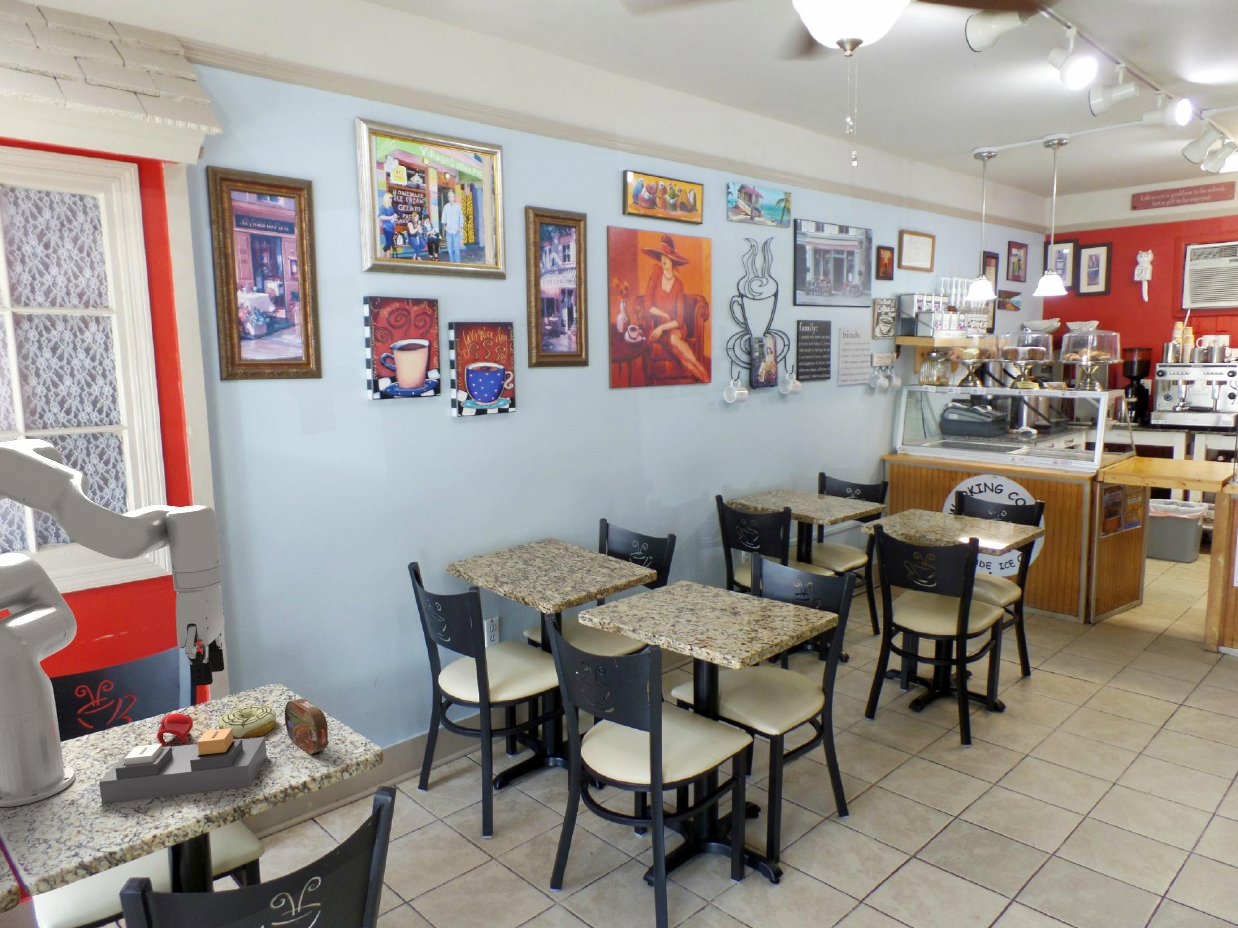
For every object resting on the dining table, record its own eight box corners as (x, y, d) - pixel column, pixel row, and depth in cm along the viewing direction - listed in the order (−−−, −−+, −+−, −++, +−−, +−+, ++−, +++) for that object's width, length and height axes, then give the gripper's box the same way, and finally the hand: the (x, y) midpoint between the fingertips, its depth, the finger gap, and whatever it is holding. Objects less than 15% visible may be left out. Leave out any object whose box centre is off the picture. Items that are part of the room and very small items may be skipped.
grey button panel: (102, 803, 138) (97, 770, 137) (130, 771, 148) (126, 741, 148) (249, 786, 141) (246, 754, 140) (266, 756, 152) (263, 726, 151)
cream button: (126, 771, 139) (124, 757, 138) (136, 759, 143) (135, 745, 143) (153, 768, 139) (151, 754, 139) (163, 756, 144) (161, 743, 143)
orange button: (198, 754, 140) (197, 741, 140) (207, 743, 145) (206, 729, 144) (225, 751, 141) (224, 738, 141) (233, 740, 145) (232, 727, 145)
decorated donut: (238, 747, 157) (236, 729, 156) (209, 734, 163) (207, 716, 163) (287, 726, 165) (285, 708, 165) (258, 714, 171) (256, 697, 171)
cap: (187, 733, 156) (199, 707, 161) (154, 727, 155) (167, 701, 159) (185, 755, 161) (196, 728, 165) (153, 750, 159) (165, 723, 164)
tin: (284, 736, 161) (281, 696, 159) (300, 730, 163) (296, 691, 162) (316, 761, 150) (312, 718, 149) (333, 754, 152) (329, 712, 151)
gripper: (192, 567, 147) (203, 662, 149) (154, 593, 130) (166, 699, 132) (236, 564, 148) (245, 658, 150) (203, 589, 131) (215, 695, 133)
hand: (208, 676), depth 141 cm, fingers open, 5 cm apart
